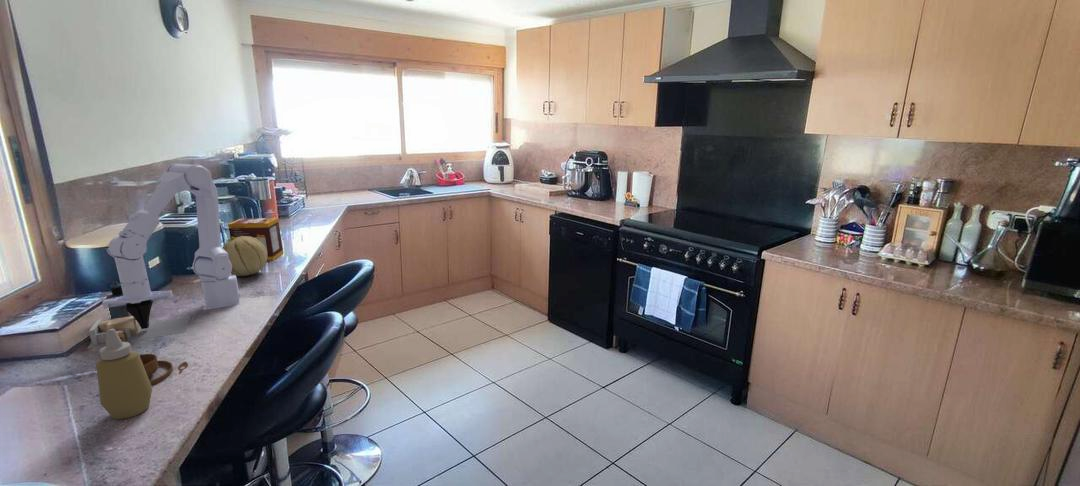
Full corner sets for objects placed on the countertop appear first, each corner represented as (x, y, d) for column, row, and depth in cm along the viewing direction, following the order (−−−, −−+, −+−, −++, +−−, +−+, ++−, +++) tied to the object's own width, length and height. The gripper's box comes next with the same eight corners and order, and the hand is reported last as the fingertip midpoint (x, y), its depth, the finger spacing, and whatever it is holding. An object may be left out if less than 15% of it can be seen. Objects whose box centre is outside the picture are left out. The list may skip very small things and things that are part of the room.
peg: (139, 328, 135) (136, 315, 134) (136, 334, 131) (133, 320, 130) (104, 334, 131) (100, 320, 130) (100, 340, 128) (96, 326, 127)
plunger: (128, 335, 131) (126, 327, 130) (124, 341, 127) (123, 333, 127) (115, 337, 129) (113, 329, 129) (112, 343, 126) (110, 335, 125)
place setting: (80, 403, 103) (73, 378, 101) (114, 359, 121) (109, 338, 119) (180, 385, 110) (175, 361, 108) (199, 346, 127) (194, 325, 126)
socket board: (190, 317, 143) (187, 303, 142) (185, 333, 133) (182, 318, 132) (100, 332, 134) (96, 317, 132) (87, 351, 124) (82, 334, 122)
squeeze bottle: (124, 400, 103) (104, 321, 98) (165, 398, 103) (147, 320, 99) (94, 424, 95) (70, 340, 90) (138, 422, 96) (117, 338, 91)
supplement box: (245, 254, 206) (239, 218, 202) (283, 253, 208) (278, 217, 203) (233, 261, 196) (226, 223, 192) (273, 260, 198) (268, 222, 193)
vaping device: (123, 323, 140) (113, 283, 136) (108, 321, 141) (98, 282, 137) (132, 319, 142) (123, 280, 139) (117, 318, 143) (108, 279, 140)
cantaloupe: (277, 272, 183) (271, 234, 179) (236, 284, 171) (229, 243, 167) (256, 266, 190) (250, 228, 186) (215, 276, 178) (208, 237, 174)
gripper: (94, 289, 123) (107, 338, 127) (165, 280, 130) (175, 327, 133) (102, 281, 129) (114, 328, 133) (169, 272, 136) (179, 317, 139)
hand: (145, 327), depth 133 cm, fingers closed
